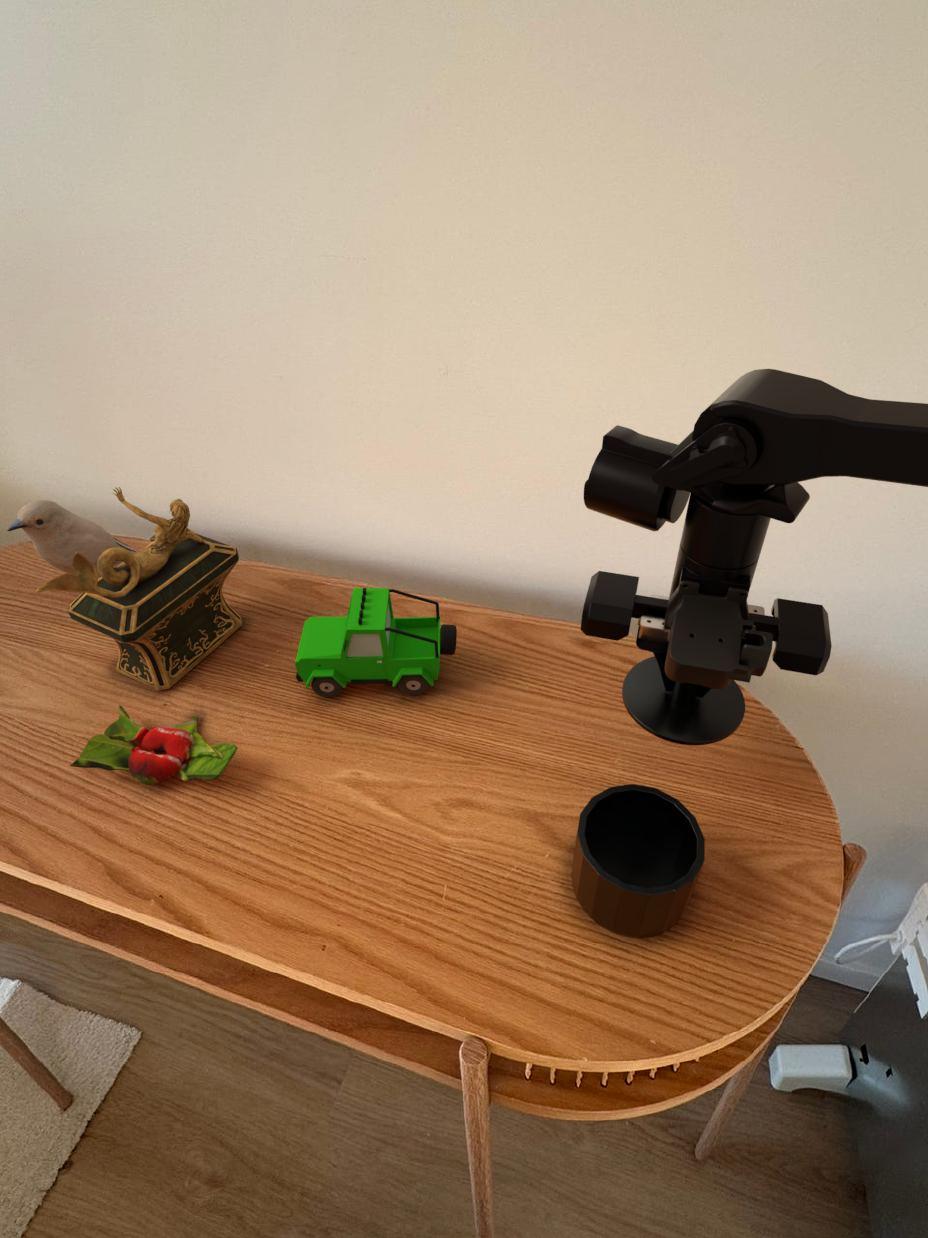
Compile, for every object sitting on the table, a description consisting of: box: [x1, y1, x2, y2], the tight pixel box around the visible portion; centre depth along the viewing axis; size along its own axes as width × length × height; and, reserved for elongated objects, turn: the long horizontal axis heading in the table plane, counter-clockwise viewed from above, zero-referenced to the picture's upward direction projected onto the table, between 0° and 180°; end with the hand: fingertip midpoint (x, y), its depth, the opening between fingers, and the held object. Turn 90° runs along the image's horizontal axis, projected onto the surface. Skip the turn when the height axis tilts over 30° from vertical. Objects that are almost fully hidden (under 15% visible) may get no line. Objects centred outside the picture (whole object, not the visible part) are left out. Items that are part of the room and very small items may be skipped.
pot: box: [570, 783, 706, 939], centre depth 60 cm, size 10×10×7 cm
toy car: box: [294, 587, 458, 698], centre depth 78 cm, size 8×17×10 cm, turn 91°
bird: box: [6, 499, 138, 579], centre depth 89 cm, size 5×14×15 cm, turn 145°
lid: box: [621, 655, 746, 746], centre depth 64 cm, size 11×11×5 cm
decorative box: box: [35, 486, 243, 692], centre depth 78 cm, size 20×10×20 cm, turn 151°
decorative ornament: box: [70, 705, 238, 787], centre depth 72 cm, size 15×5×10 cm
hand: (683, 691), depth 64 cm, fingers closed on lid, 2 cm apart
